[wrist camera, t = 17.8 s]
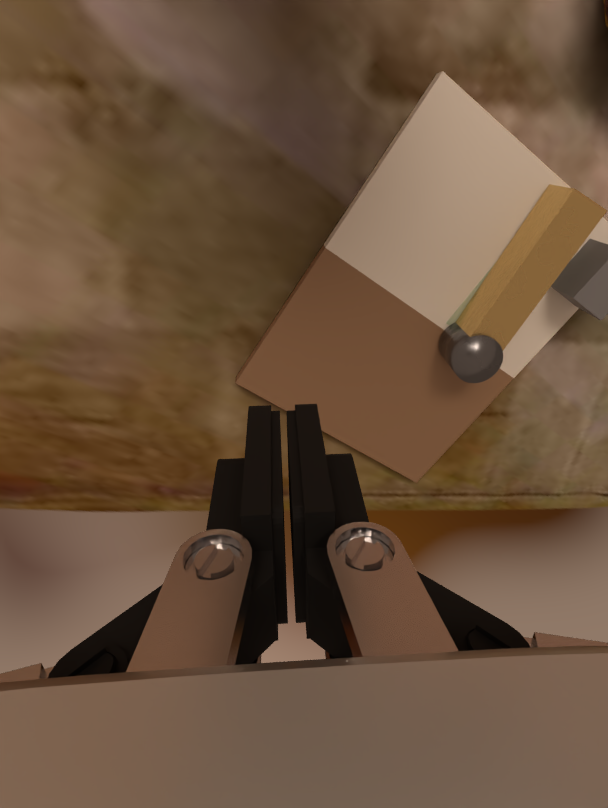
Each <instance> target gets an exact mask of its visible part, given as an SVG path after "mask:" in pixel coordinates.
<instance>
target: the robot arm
mask: <svg viewBox="0 0 608 808" xmlns="http://www.w3.org/2000/svg"><path fill="white" fill-rule="evenodd" d="M287 438H288V468H289V499H290V519H291V538H292V557H293V576H294V594H295V595H294V596H295V613H296V623H301V622H306V631H307V632H306V633H307V639H309V638H310V639H311V640H313V641H314V642H315V643H317V644H318V645H319V646H320V647H322V648H323V649H324V650H325V656H326V659H321V660H304V661H288V662H273V663H261V654H262V653H263V652H264V651H265V650H266V649H267V648H268V647H269V646H270V645H271V644H272V643H273V642H274V641H276V640H278V624H283V623H288V618H287V590H286V563H285V535H284V507H283V482H282V457H281V432H280V411H271V405H270V406H249V410H248V423H247V436H246V448H245V458H239V459H219V460H218V462H217V467H216V473H215V479H214V485H213V492H212V498H211V504H210V511H209V517H208V523H207V529H206V531H204V532H200V533H198V534H196V535H194V536H192V537H191V538H189V539H188V540H187V541H186V542H184V543H183V544H182V545H181V546H180V548H179V550H178V551H177V553H176V555H175V557H174V559H173V562H172V564H171V566H170V569H169V571H168V574H167V576H166V578H165V581H164V583H163V585H161V586H160V587H159V588H157V589H156V590H154V591H153V592H151V593H150V594H149V595H147V596H146V597H144V598H143V599H142V600H140V601H139V602H138V603H136V604H135V605H133V606H132V607H130V608H129V609H128V610H126V611H125V612H123V613H122V614H121V615H119V616H118V617H116V618H115V619H114V620H112V621H111V622H109V623H108V624H107V625H105V626H104V627H102V628H101V629H100V630H98V631H97V632H96V633H94V634H93V635H92V636H90V637H89V638H87V639H86V640H84V641H83V642H81V643H80V644H79V645H77V646H76V647H74V648H73V649H71V650H70V651H69V652H68V653H67V654H66V655H65V656H63V657H62V658H61V659H60V660H59V661H58V662H57V664H56V665H55V666H54V667H50V668H46V669H44V667H43V665H42V663H39V664H35V665H31V666H28V667H24V668H20V669H16V670H12V671H9V672H5V673H1V674H0V808H608V643H605V642H599V641H592V640H585V639H578V638H571V637H563V636H557V635H551V634H543V633H537V632H534V635H533V638H526V637H523V636H522V635H521V634H520V633H519V632H518V631H517V630H515V629H514V628H513V627H511V626H510V625H508V624H507V623H505V622H504V621H502V620H500V619H499V618H497V617H495V616H493V615H492V614H490V613H488V612H486V611H485V610H483V609H481V608H480V607H478V606H476V605H474V604H473V603H471V602H469V601H467V600H466V599H464V598H462V597H461V596H459V595H457V594H455V593H454V592H452V591H450V590H448V589H447V588H445V587H443V586H442V585H439V584H438V583H436V582H435V581H433V580H431V579H429V578H428V577H426V576H424V575H423V574H421V573H419V572H417V571H416V570H415V568H414V566H413V564H412V562H411V560H410V558H409V556H408V554H407V553H406V551H405V549H404V547H403V545H402V543H401V541H400V540H399V539H398V538H397V537H396V535H395V534H394V533H393V532H391V531H390V530H388V529H387V528H385V527H383V526H380V525H378V524H375V523H369V521H368V516H367V513H366V509H365V505H364V501H363V497H362V493H361V489H360V485H359V481H358V477H357V473H356V469H355V465H354V461H353V457H352V455H351V454H329V455H326V454H325V448H324V442H323V436H322V430H321V425H320V419H319V413H318V407H317V404H295V410H289V411H287Z"/></svg>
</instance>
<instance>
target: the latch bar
mask: <svg viewBox="0 0 608 808" xmlns="http://www.w3.org/2000/svg"><path fill="white" fill-rule="evenodd" d="M606 212H607V210H606V209H604V208H603V207H601V206H600V205H598V204H597V203H595V202H594V201H592V200H591V199H589V198H588V197H586V196H585V195H583V194H582V193H580V192H579V191H577V190H576V189H573V188H568V187H562V186H556V185H551V184H549V185H548V187H547V188H546V190H545V191H544V193H543V194H542V195H541V197H540V198H539V200H538V201H537V203H536V204H535V206H534V207H533V209H532V210H531V212H530V213H529V215H528V216H527V218H526V219H525V221H524V222H523V223H522V225H521V226H520V228H519V229H518V231H517V232H516V234H515V235H514V237H513V238H512V240H511V241H510V243H509V244H508V246H507V247H506V248H505V250H504V251H503V253H502V254H501V256H500V257H499V259H498V260H497V262H496V263H495V265H494V266H493V268H492V269H491V271H490V272H489V273H488V275H487V276H486V278H485V279H484V281H483V282H482V284H481V285H480V287H479V288H478V290H477V291H476V293H475V294H474V296H473V297H472V298H471V300H470V301H469V303H468V304H467V306H466V307H465V309H464V310H463V312H462V313H461V315H460V316H459V318H458V319H457V321H456V322H455V323H453V324H451V325H450V326H448V327H447V328H446V329H445V330H444V331H443V333H442V335H441V337H440V339H439V346H438V347H439V352H440V354H441V356H442V357H443V358H444V360H445V361H446V362H447V363H448V365H449V366H450V367H451V369H452V370H453V371H454V372H455V374H456V375H457V376H458V377H459V378H460V379H461V380H463V381H465V382H468V383H480V382H483V381H486V380H488V379H489V378H491V377H492V376H493V375H495V374H496V372H497V371H498V370H499V368H500V367H501V364H502V362H503V350H504V349H505V347H506V346H507V345H508V343H509V342H510V341H511V339H512V338H513V337H514V335H515V334H516V333H517V331H518V330H519V329H520V327H521V326H522V325H523V323H524V322H525V321H526V319H527V318H528V317H529V315H530V314H531V312H532V311H533V310H534V308H535V307H536V306H537V304H538V303H539V302H540V300H541V299H542V298H543V296H544V295H545V294H546V292H547V291H548V290H549V288H550V287H551V286H552V284H553V283H554V282H555V280H556V279H557V278H558V276H559V275H560V274H561V272H562V271H563V270H564V268H565V267H566V265H567V264H568V263H569V261H570V260H571V259H572V257H573V256H574V255H575V253H576V252H577V251H578V249H579V248H580V247H581V245H582V244H583V243H584V241H585V240H586V239H587V237H588V236H589V235H590V233H591V232H592V231H593V229H594V228H595V227H596V225H597V224H598V222H599V221H600V220H601V218H602V217H603V216H604V214H605V213H606Z"/></svg>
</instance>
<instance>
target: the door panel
mask: <svg viewBox="0 0 608 808" xmlns="http://www.w3.org/2000/svg"><path fill="white" fill-rule="evenodd" d="M549 184H551V185H556V186H562V187H568V188H570V187H569V186H568V185H567V184H566V183H565V182H564V181H563V180H562V179H561V178H559V177H558V176H557V175H556V174H555V173H554V172H553V171H552V170H551V169H550V168H548V167H547V166H546V165H545V164H544V163H543V162H542V161H541V160H540V159H539V158H537V157H536V156H535V155H534V154H533V153H532V152H531V151H530V150H529V149H528V148H527V147H525V146H524V145H523V144H522V143H521V142H520V141H519V140H518V139H517V138H516V137H514V136H513V135H512V134H511V133H510V132H509V131H508V130H507V129H506V128H505V127H503V126H502V125H501V124H500V123H499V122H498V121H497V120H496V119H495V118H494V117H492V116H491V115H490V114H489V113H488V112H487V111H486V110H485V109H484V108H483V107H481V106H480V105H479V104H478V103H477V102H476V101H475V100H474V99H473V98H472V97H471V96H469V95H468V94H467V93H466V92H465V91H464V90H463V89H462V88H461V87H460V86H458V85H457V84H456V83H455V82H454V81H453V80H452V79H451V78H450V77H449V76H447V75H446V74H445V73H444V72H443V71H442V72H440V73H437V74H436V76H435V77H434V79H433V80H432V82H431V83H430V85H429V86H428V88H427V89H426V91H425V92H424V94H423V95H422V97H421V98H420V100H419V101H418V103H417V104H416V106H415V107H414V109H413V110H412V112H411V113H410V115H409V116H408V118H407V119H406V121H405V122H404V124H403V126H402V127H401V129H400V130H399V132H398V133H397V135H396V136H395V138H394V139H393V141H392V142H391V144H390V145H389V147H388V148H387V150H386V151H385V153H384V154H383V156H382V157H381V159H380V160H379V162H378V163H377V165H376V166H375V168H374V169H373V171H372V172H371V174H370V175H369V177H368V178H367V180H366V181H365V183H364V184H363V186H362V187H361V189H360V190H359V192H358V193H357V195H356V196H355V198H354V199H353V201H352V202H351V204H350V205H349V207H348V209H347V210H346V212H345V213H344V215H343V216H342V218H341V219H340V221H339V222H338V224H337V225H336V227H335V228H334V230H333V231H332V233H331V234H330V236H329V237H328V239H327V240H326V242H325V243H324V245H323V246H322V248H321V249H320V251H319V252H318V254H317V255H316V257H315V258H314V260H313V261H312V263H311V264H310V266H309V267H308V269H307V270H306V272H305V273H304V275H303V276H302V278H301V279H300V281H299V282H298V284H297V285H296V287H295V288H294V290H293V292H292V293H291V295H290V296H289V298H288V299H287V301H286V302H285V304H284V305H283V307H282V308H281V310H280V311H279V313H278V314H277V316H276V317H275V319H274V320H273V322H272V323H271V325H270V326H269V328H268V329H267V331H266V332H265V334H264V335H263V337H262V338H261V340H260V341H259V343H258V344H257V346H256V347H255V349H254V350H253V352H252V353H251V355H250V356H249V358H248V359H247V361H246V362H245V364H244V365H243V367H242V368H241V370H240V371H239V373H238V375H237V376H236V381H235V383H236V384H238V385H240V386H242V387H243V388H245V389H247V390H249V391H251V392H253V393H254V394H256V395H258V396H260V397H262V398H263V399H265V400H267V401H269V402H271V403H273V404H274V405H276V406H278V407H280V408H282V409H283V410H285V411H289V410H295V404H317V407H318V413H319V419H320V425H321V430H322V431H323V432H325V433H327V434H329V435H331V436H332V437H334V438H336V439H338V440H340V441H342V442H343V443H345V444H347V445H349V446H351V447H352V448H354V449H356V450H358V451H360V452H362V453H363V454H365V455H367V456H369V457H371V458H372V459H374V460H376V461H378V462H380V463H382V464H383V465H385V466H387V467H389V468H391V469H392V470H394V471H396V472H398V473H400V474H401V475H403V476H405V477H407V478H409V479H411V480H412V481H414V482H416V483H417V481H418V480H419V479H420V478H421V477H422V476H423V475H424V474H425V473H426V472H427V471H428V470H429V469H430V468H431V466H432V465H433V464H434V463H435V462H436V461H437V460H438V459H439V458H440V457H441V456H442V455H443V454H444V453H445V451H446V450H447V449H448V448H449V447H450V446H451V445H452V444H453V443H454V442H455V441H456V440H457V439H458V438H459V436H460V435H461V434H462V433H463V432H464V431H465V430H466V429H467V428H468V427H469V426H470V425H471V424H472V423H473V421H474V420H475V419H476V418H477V417H478V416H479V415H480V414H481V413H482V412H483V411H484V410H485V409H486V408H487V406H488V405H489V404H490V403H491V402H492V401H493V400H494V399H495V398H496V397H497V396H498V395H499V394H500V393H501V391H502V390H503V389H504V388H505V387H506V386H507V385H508V384H509V383H510V382H511V381H512V380H513V379H514V378H515V376H516V375H517V374H518V373H519V372H520V371H521V370H522V369H523V368H524V367H525V366H526V365H527V364H528V363H529V361H530V360H531V359H532V358H533V357H534V356H535V355H536V354H537V353H538V352H539V351H540V350H541V349H542V348H543V346H544V345H545V344H546V343H547V342H548V341H549V340H550V339H551V338H552V337H553V336H554V335H555V334H556V333H557V331H558V330H559V329H560V328H561V327H562V326H563V325H564V324H565V323H566V322H567V321H568V320H569V319H570V318H571V316H572V315H573V314H574V313H575V312H576V311H577V310H578V309H579V308H580V309H581V310H583V311H585V312H587V313H589V314H590V315H592V316H594V317H596V318H597V319H599V320H602V319H603V318H604V317H605V316H606V315H607V314H608V221H607V220H606V219H604V218H603V217H602V218H601V220H600V221H599V222H598V224H597V225H596V227H595V228H594V229H593V231H592V232H591V233H590V235H589V236H588V237H587V239H586V240H585V241H584V243H583V244H582V245H581V247H580V248H579V249H578V251H577V252H576V253H575V255H574V256H573V257H572V259H571V260H570V261H569V263H568V264H567V265H566V267H565V268H564V270H563V271H562V272H561V274H560V275H559V276H558V278H557V279H556V280H555V282H554V283H553V284H552V286H551V287H550V288H549V290H548V291H547V292H546V294H545V295H544V296H543V298H542V299H541V300H540V302H539V303H538V304H537V306H536V307H535V308H534V310H533V311H532V312H531V314H530V315H529V317H528V318H527V319H526V321H525V322H524V323H523V325H522V326H521V327H520V329H519V330H518V331H517V333H516V334H515V335H514V337H513V338H512V339H511V341H510V342H509V343H508V345H507V346H506V347H505V349H504V350H503V362H502V364H501V367H500V368H499V370H498V371H497V372H496V374H495V375H493V376H492V377H491V378H489V379H488V380H486V381H483V382H480V383H468V382H465V381H463V380H461V379H460V378H459V377H458V376H457V375H456V374H455V372H454V371H453V370H452V369H451V367H450V366H449V365H448V363H447V362H446V361H445V360H444V358H443V357H442V356H441V354H440V352H439V347H438V346H439V339H440V337H441V335H442V333H443V331H444V330H445V329H446V328H447V327H448V326H450V325H451V324H453V323H455V322H456V321H457V319H458V318H459V316H460V315H461V313H462V312H463V310H464V309H465V307H466V306H467V304H468V303H469V301H470V300H471V298H472V297H473V296H474V294H475V293H476V291H477V290H478V288H479V287H480V285H481V284H482V282H483V281H484V279H485V278H486V276H487V275H488V273H489V272H490V271H491V269H492V268H493V266H494V265H495V263H496V262H497V260H498V259H499V257H500V256H501V254H502V253H503V251H504V250H505V248H506V247H507V246H508V244H509V243H510V241H511V240H512V238H513V237H514V235H515V234H516V232H517V231H518V229H519V228H520V226H521V225H522V223H523V222H524V221H525V219H526V218H527V216H528V215H529V213H530V212H531V210H532V209H533V207H534V206H535V204H536V203H537V201H538V200H539V198H540V197H541V195H542V194H543V193H544V191H545V190H546V188H547V187H548V185H549Z"/></svg>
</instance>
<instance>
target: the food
mask: <svg viewBox="0 0 608 808" xmlns="http://www.w3.org/2000/svg"><path fill="white" fill-rule="evenodd" d="M604 11H605V23H606V26H607V28H608V0H604Z"/></svg>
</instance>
